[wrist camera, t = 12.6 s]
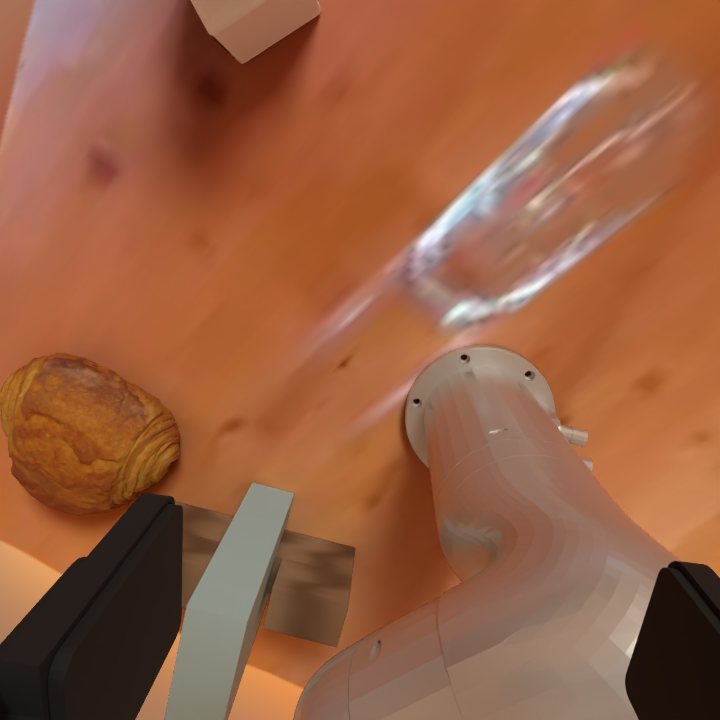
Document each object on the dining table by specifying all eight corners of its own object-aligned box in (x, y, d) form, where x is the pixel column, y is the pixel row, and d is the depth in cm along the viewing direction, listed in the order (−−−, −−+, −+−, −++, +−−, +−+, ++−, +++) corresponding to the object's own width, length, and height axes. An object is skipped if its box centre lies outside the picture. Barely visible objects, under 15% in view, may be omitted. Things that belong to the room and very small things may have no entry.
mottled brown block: (355, 547, 50) (348, 608, 42) (345, 582, 51) (336, 647, 43) (171, 500, 50) (131, 552, 42) (166, 535, 51) (125, 593, 43)
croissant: (74, 316, 48) (2, 326, 40) (212, 415, 47) (165, 443, 40) (12, 437, 51) (-66, 467, 44) (139, 531, 51) (83, 578, 43)
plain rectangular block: (252, 482, 49) (186, 605, 33) (294, 493, 49) (247, 621, 33) (229, 587, 52) (159, 742, 37) (268, 597, 52) (215, 757, 37)
